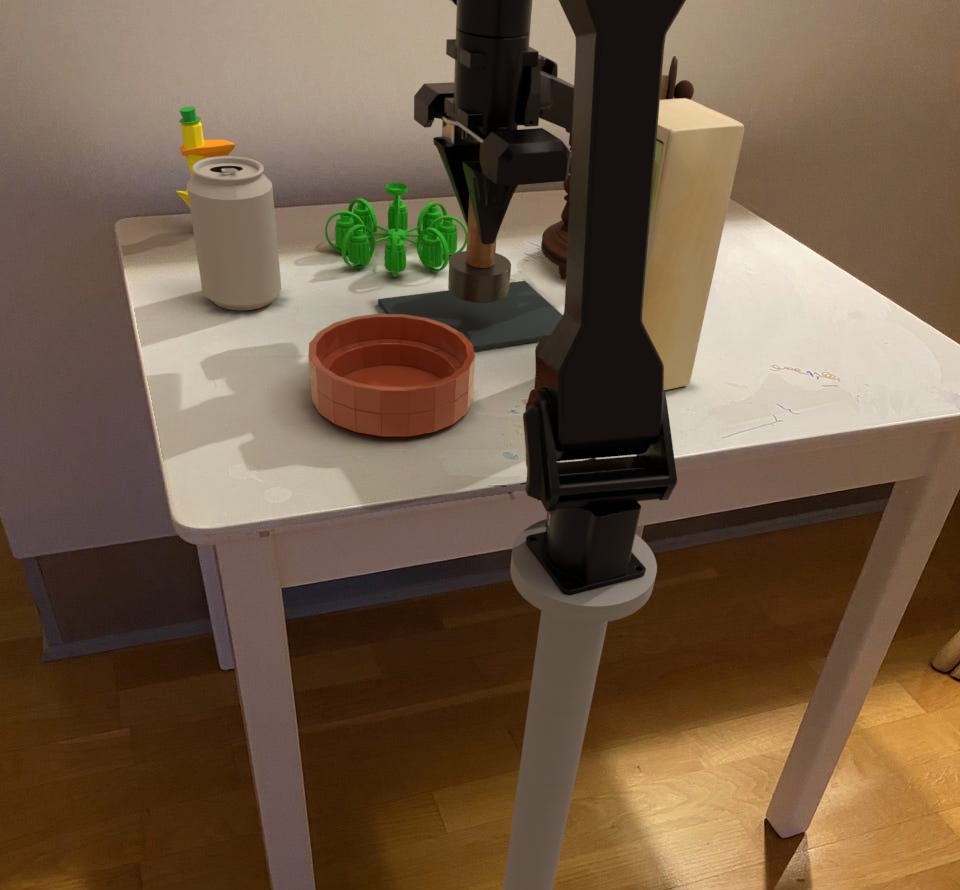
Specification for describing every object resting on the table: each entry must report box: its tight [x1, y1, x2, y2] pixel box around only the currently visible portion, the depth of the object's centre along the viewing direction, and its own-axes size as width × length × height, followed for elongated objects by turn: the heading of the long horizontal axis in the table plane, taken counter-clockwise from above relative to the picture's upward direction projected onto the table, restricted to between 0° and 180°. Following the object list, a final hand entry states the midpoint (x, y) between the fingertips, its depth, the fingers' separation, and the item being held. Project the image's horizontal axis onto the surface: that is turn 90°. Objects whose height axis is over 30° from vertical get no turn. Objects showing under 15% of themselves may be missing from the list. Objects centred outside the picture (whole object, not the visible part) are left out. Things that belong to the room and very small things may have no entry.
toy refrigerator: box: [642, 98, 745, 391], centre depth 77 cm, size 8×7×21 cm
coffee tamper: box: [447, 194, 512, 303], centre depth 83 cm, size 6×6×10 cm
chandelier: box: [324, 182, 467, 278], centre depth 98 cm, size 15×15×7 cm
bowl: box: [308, 313, 476, 437], centre depth 77 cm, size 13×13×4 cm
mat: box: [377, 280, 563, 352], centre depth 90 cm, size 12×16×1 cm
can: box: [186, 155, 283, 311], centre depth 87 cm, size 8×8×12 cm
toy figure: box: [175, 106, 236, 209], centre depth 99 cm, size 7×4×12 cm, turn 116°
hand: (481, 237), depth 83 cm, fingers closed on coffee tamper, 2 cm apart
